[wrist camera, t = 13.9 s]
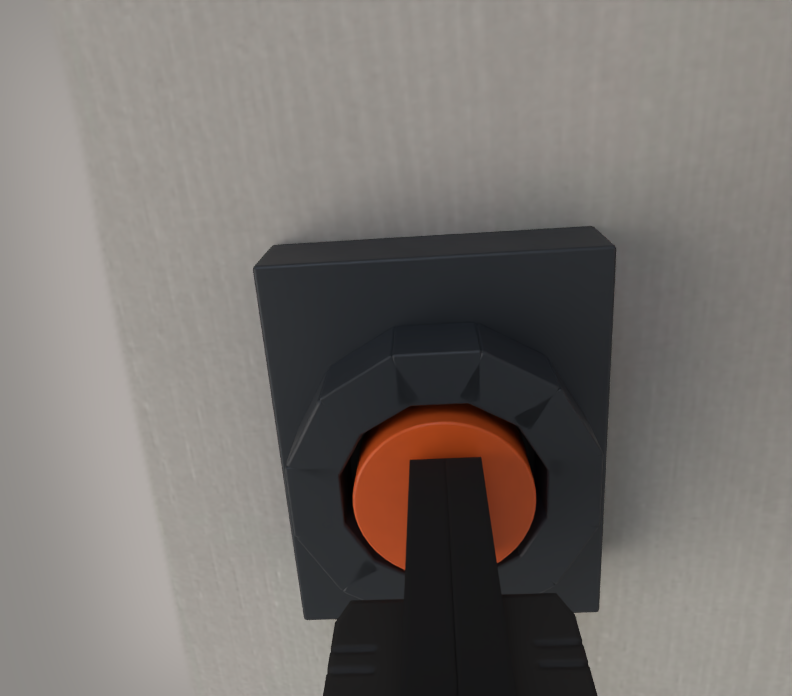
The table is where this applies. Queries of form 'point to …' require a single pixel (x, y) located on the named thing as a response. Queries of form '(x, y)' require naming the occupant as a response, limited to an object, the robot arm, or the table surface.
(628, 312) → the table surface
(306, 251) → the switch block
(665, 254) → the table surface
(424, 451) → the light button
